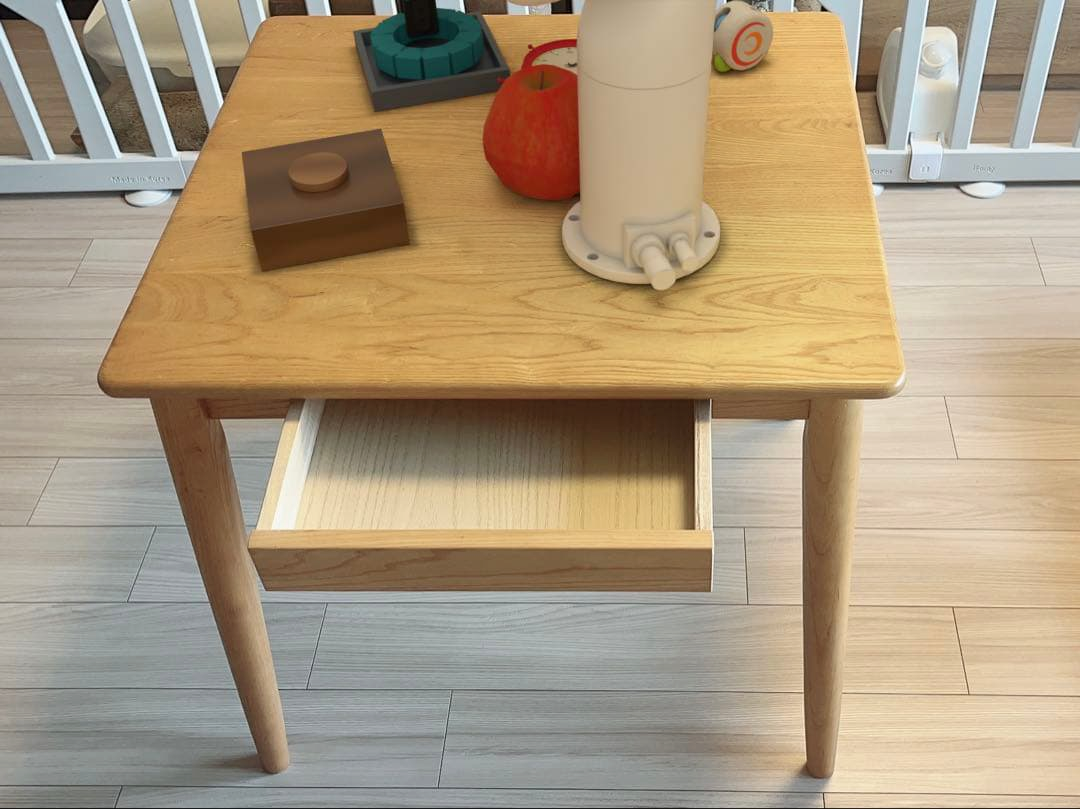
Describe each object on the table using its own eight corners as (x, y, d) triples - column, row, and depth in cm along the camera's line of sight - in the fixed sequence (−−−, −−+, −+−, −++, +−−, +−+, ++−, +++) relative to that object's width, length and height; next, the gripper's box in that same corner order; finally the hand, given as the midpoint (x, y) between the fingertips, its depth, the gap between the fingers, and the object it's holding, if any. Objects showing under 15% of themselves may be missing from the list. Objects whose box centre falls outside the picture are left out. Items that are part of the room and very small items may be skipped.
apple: (479, 214, 94) (466, 99, 87) (500, 150, 101) (489, 40, 94) (601, 218, 93) (598, 101, 85) (613, 153, 100) (611, 40, 93)
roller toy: (696, 61, 112) (699, 5, 108) (749, 45, 114) (754, -11, 110) (721, 79, 109) (726, 22, 105) (775, 63, 111) (781, 6, 107)
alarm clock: (530, 31, 110) (675, 18, 103) (546, 91, 114) (686, 82, 107) (485, 81, 103) (637, 70, 96) (504, 142, 107) (651, 136, 100)
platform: (409, 244, 92) (402, 194, 88) (261, 271, 90) (248, 221, 86) (387, 168, 100) (379, 119, 97) (251, 191, 98) (239, 143, 95)
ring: (493, 69, 109) (491, 48, 108) (383, 87, 108) (379, 65, 106) (470, 21, 117) (468, 1, 115) (367, 37, 115) (364, 17, 114)
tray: (511, 89, 109) (509, 69, 108) (374, 111, 107) (371, 91, 106) (482, 29, 119) (480, 10, 117) (356, 49, 117) (352, 30, 115)
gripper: (454, -142, 97) (472, 57, 109) (422, -197, 108) (442, -10, 121) (367, -131, 96) (396, 70, 108) (344, -188, 107) (372, 0, 120)
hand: (420, 26), depth 114 cm, fingers closed on ring, 2 cm apart
